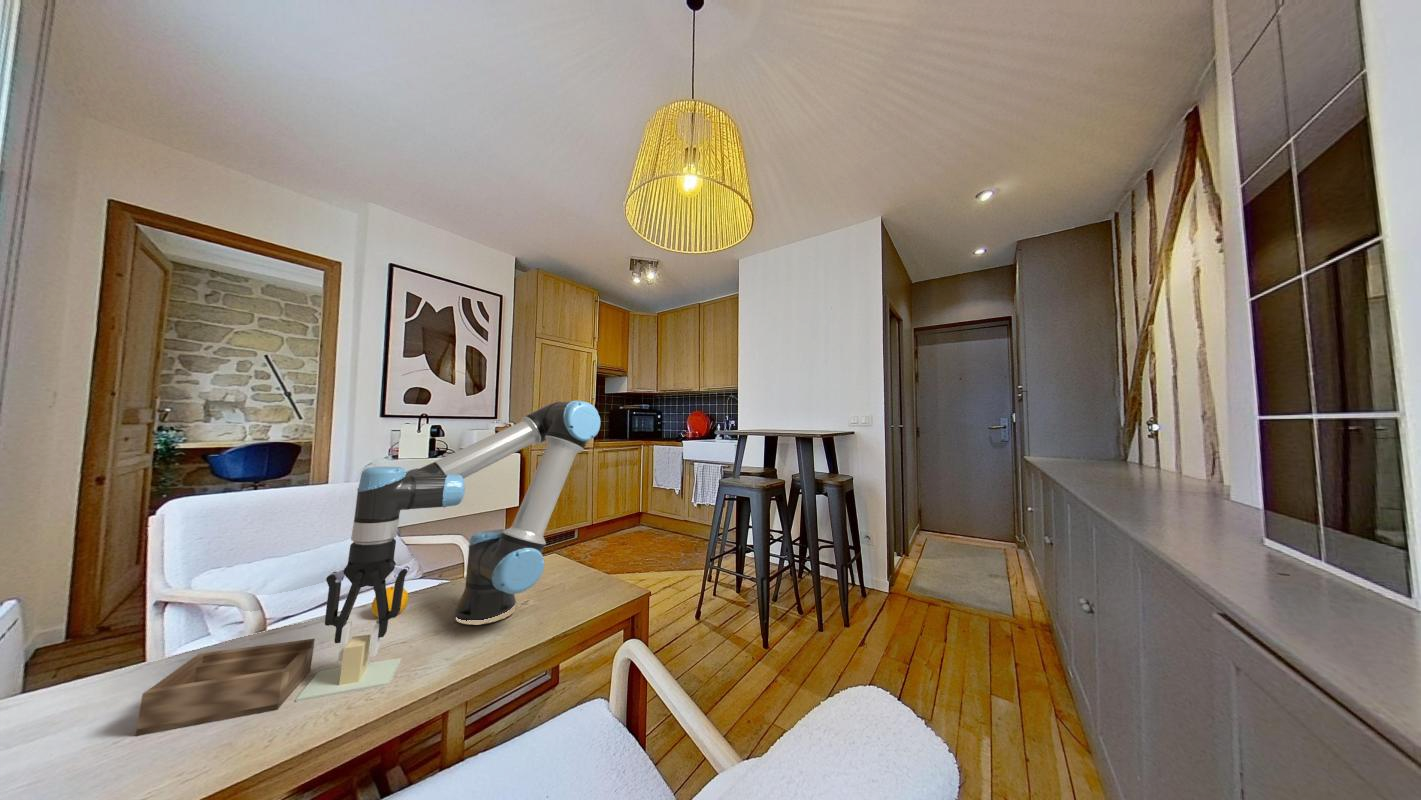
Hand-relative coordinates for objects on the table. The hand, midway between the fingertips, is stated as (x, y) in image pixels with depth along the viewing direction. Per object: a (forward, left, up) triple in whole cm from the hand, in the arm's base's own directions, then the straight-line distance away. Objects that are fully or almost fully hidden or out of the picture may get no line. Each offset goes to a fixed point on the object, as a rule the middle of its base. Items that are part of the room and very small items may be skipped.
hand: (358, 655), depth 83 cm
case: (+18, 0, -5) cm, 18 cm away
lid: (0, 0, -5) cm, 5 cm away
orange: (+2, -32, -5) cm, 32 cm away
